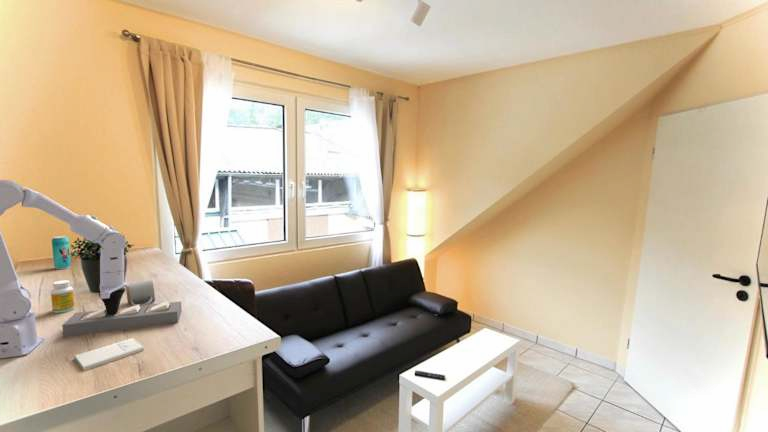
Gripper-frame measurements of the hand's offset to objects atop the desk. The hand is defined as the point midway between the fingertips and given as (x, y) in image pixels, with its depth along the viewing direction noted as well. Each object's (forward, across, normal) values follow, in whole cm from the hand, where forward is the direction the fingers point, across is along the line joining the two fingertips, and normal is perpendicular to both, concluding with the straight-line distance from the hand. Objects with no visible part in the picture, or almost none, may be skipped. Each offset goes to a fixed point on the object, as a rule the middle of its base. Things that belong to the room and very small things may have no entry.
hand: (112, 313), depth 105 cm
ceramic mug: (+4, +18, -4) cm, 18 cm away
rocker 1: (0, 0, +4) cm, 4 cm away
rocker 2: (0, 0, -4) cm, 4 cm away
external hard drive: (+4, -20, -4) cm, 21 cm away
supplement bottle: (+5, +19, +18) cm, 27 cm away
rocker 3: (-1, 0, -12) cm, 12 cm away
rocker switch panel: (+3, 0, -4) cm, 5 cm away
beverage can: (+5, +79, +39) cm, 88 cm away
